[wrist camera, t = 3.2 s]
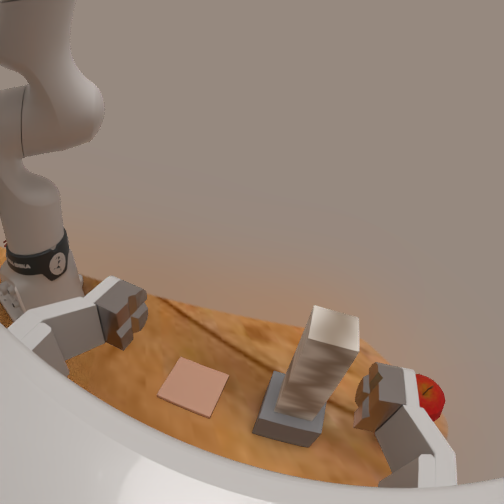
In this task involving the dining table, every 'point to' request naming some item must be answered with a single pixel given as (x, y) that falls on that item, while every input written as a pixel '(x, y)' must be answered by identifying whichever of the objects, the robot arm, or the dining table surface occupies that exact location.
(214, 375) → the terracotta tile
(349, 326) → the cream block
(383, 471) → the dining table surface
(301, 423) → the charcoal plinth
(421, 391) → the apple
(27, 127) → the robot arm
